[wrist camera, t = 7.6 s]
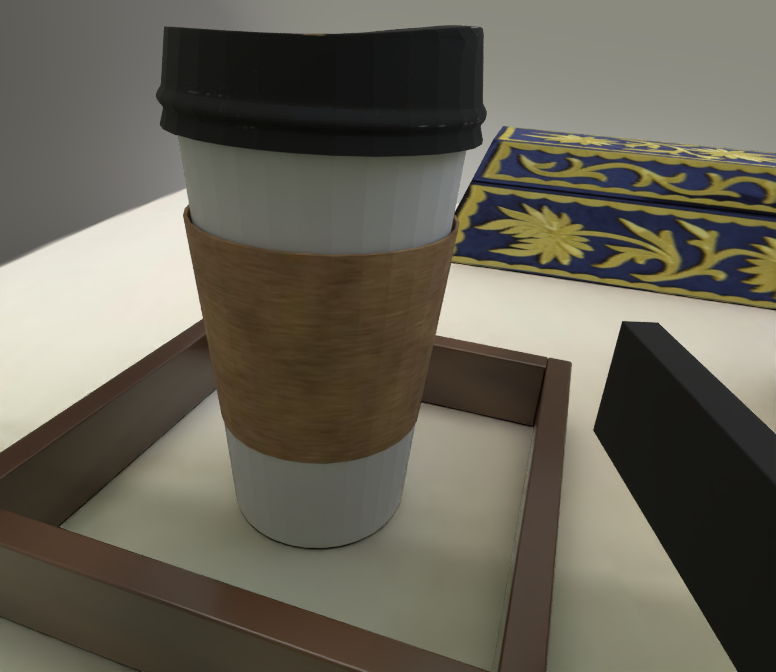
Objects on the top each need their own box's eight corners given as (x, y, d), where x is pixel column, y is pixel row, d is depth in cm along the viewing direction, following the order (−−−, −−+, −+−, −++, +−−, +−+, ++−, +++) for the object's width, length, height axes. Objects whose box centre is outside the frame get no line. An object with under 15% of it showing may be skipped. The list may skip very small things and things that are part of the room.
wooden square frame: (558, 420, 26) (571, 361, 25) (516, 820, 12) (541, 737, 11) (239, 349, 30) (237, 295, 29) (-60, 594, 16) (-93, 512, 15)
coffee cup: (462, 572, 18) (553, 27, 12) (178, 591, 17) (96, -9, 10) (415, 417, 26) (453, 31, 19) (214, 422, 24) (181, 10, 18)
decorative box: (450, 223, 54) (462, 120, 50) (811, 271, 48) (857, 158, 44) (428, 259, 45) (440, 136, 41) (871, 323, 39) (937, 187, 35)
